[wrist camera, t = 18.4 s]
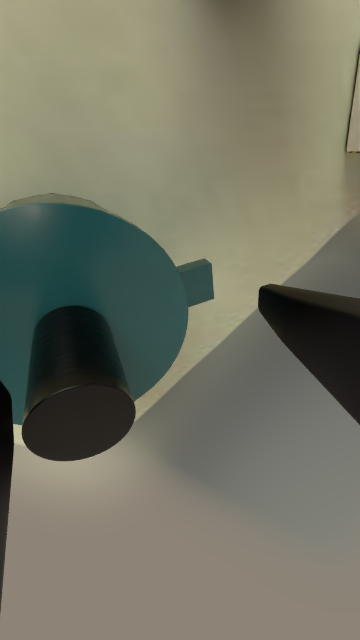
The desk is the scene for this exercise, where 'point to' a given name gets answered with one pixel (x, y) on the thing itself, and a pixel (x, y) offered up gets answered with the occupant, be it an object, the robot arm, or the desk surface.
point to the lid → (82, 324)
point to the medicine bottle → (355, 119)
